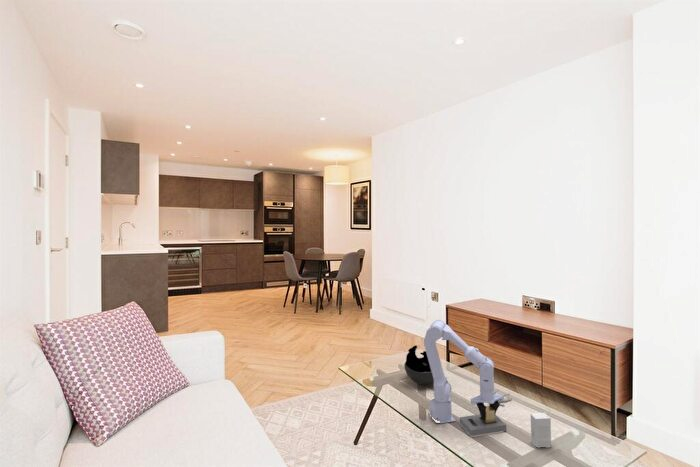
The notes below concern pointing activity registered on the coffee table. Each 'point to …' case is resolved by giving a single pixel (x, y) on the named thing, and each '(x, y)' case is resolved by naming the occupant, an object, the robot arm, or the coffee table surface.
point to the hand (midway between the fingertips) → (487, 418)
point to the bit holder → (481, 426)
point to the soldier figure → (504, 399)
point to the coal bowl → (418, 367)
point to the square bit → (489, 415)
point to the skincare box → (541, 429)
